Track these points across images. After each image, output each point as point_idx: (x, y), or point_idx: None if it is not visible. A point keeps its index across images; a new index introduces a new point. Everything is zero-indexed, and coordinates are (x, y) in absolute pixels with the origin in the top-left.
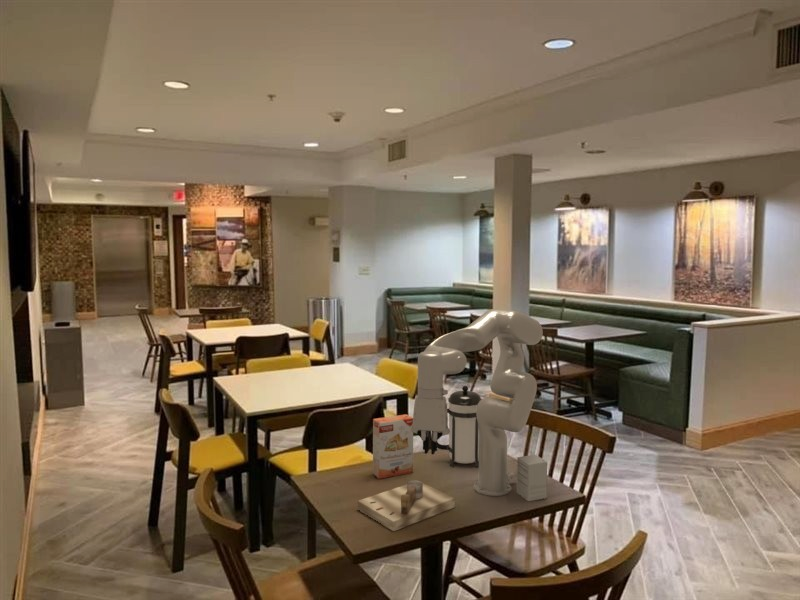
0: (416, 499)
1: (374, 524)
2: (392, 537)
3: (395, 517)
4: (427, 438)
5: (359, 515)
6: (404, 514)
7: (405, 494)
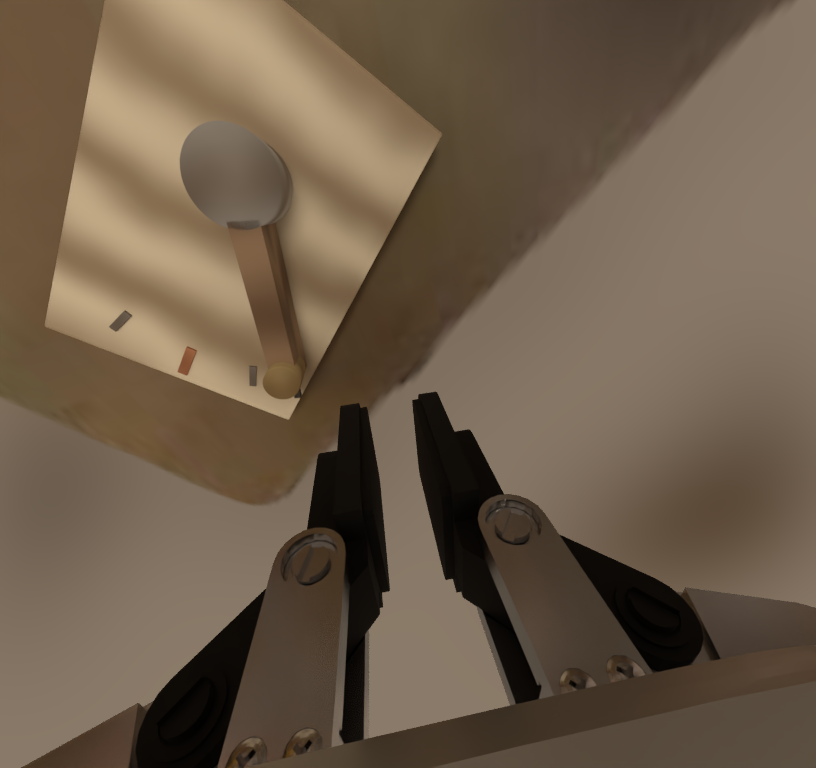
0: None
1: None
2: (308, 429)
3: None
4: (370, 563)
5: None
6: None
7: (275, 371)
